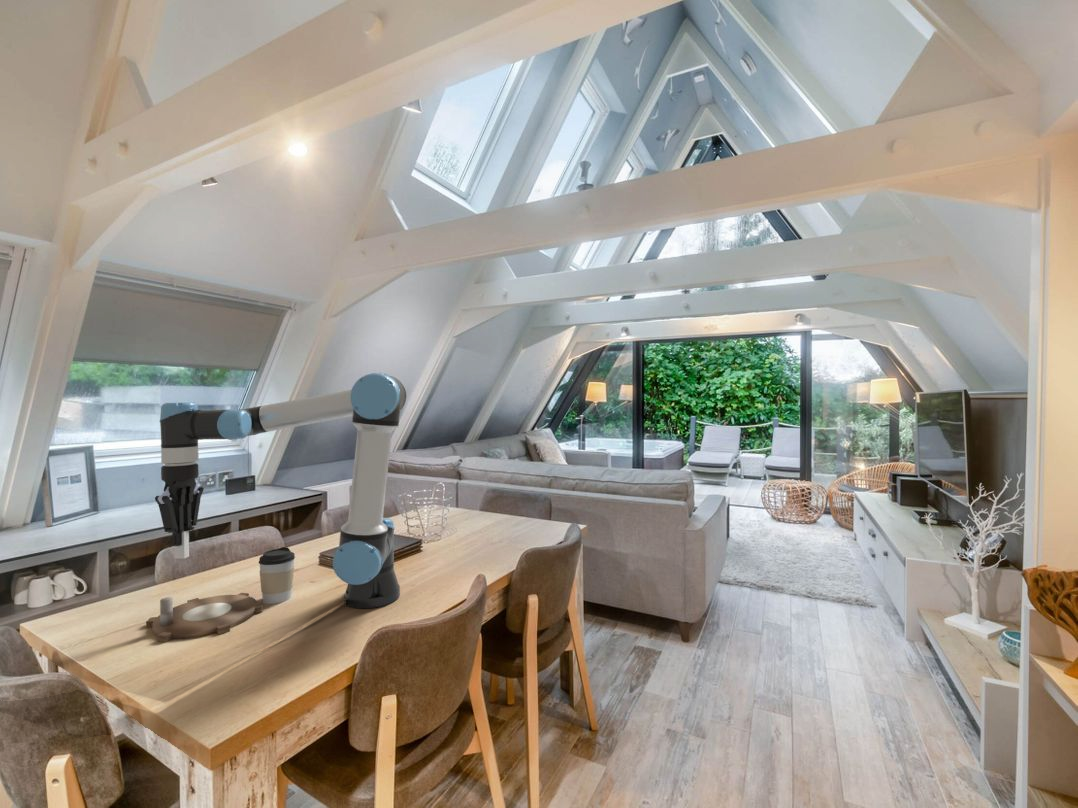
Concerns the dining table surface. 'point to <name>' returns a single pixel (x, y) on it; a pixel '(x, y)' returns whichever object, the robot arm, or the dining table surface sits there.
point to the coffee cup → (276, 575)
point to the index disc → (202, 616)
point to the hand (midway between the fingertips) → (181, 557)
